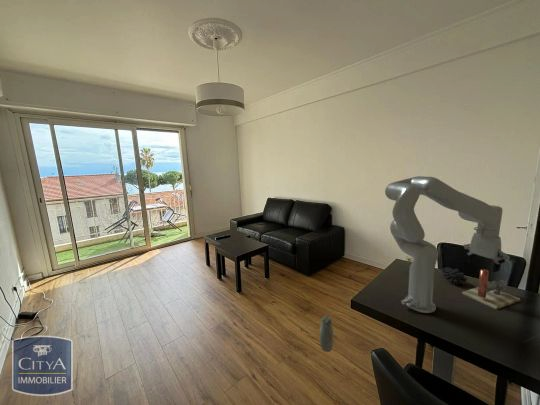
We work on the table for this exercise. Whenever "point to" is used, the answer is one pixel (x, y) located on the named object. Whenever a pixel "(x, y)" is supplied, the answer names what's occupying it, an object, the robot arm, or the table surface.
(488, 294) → the board
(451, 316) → the table surface
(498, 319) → the table surface
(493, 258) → the robot arm
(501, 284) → the lever
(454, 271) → the fruit
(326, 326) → the glass bottle
